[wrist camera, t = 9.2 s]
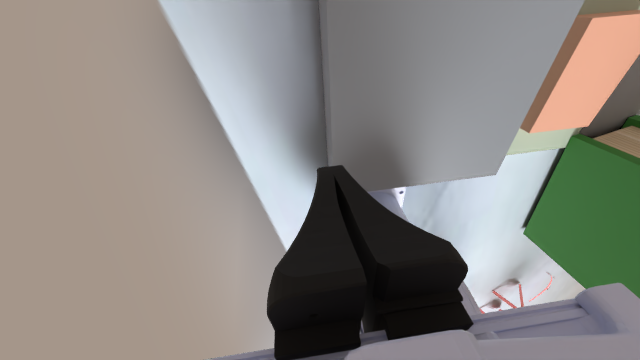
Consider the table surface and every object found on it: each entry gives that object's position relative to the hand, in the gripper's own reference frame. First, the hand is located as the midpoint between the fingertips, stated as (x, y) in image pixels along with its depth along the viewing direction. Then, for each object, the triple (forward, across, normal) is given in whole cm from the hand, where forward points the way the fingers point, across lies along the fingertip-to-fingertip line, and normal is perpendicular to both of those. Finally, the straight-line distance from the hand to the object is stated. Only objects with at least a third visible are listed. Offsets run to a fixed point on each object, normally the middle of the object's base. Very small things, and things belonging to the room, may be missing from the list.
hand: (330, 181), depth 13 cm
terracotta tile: (+8, -23, -1) cm, 24 cm away
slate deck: (+10, -9, -1) cm, 14 cm away
